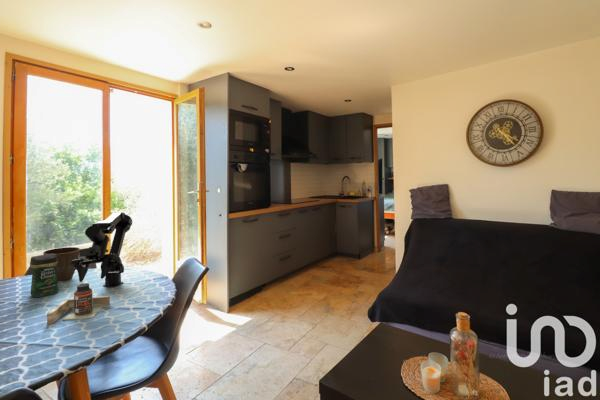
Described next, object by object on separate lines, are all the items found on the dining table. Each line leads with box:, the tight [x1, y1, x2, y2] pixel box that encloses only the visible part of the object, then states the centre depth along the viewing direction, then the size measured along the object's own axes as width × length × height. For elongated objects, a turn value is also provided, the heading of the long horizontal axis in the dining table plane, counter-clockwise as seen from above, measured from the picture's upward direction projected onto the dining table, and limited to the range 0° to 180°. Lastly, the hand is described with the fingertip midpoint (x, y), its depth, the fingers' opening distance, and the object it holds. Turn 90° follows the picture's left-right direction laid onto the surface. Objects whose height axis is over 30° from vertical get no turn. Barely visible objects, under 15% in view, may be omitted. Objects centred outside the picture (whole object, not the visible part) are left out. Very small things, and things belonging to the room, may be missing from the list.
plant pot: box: [42, 246, 81, 283], centre depth 153 cm, size 15×15×16 cm
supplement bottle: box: [73, 282, 94, 315], centre depth 116 cm, size 6×6×11 cm
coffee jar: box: [29, 254, 59, 298], centre depth 134 cm, size 10×8×19 cm
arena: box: [46, 295, 111, 325], centre depth 116 cm, size 14×16×4 cm
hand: (91, 280), depth 124 cm, fingers open, 9 cm apart
